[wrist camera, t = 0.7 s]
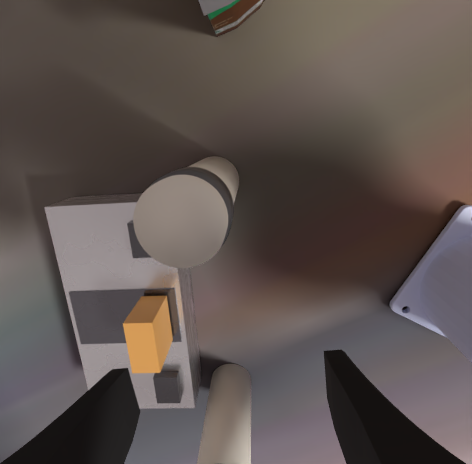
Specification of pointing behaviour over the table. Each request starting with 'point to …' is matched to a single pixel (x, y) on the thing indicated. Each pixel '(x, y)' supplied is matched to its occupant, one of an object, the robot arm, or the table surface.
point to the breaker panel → (122, 296)
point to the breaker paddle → (148, 334)
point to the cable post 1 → (187, 213)
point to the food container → (228, 13)
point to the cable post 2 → (227, 418)
